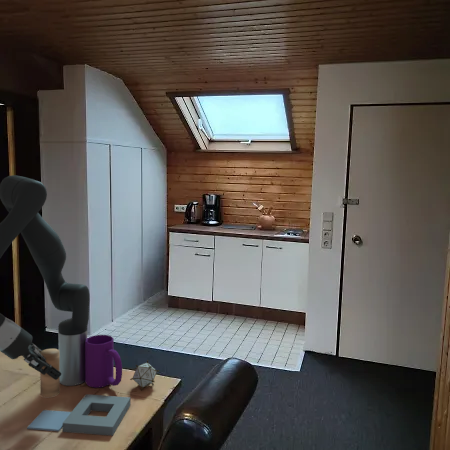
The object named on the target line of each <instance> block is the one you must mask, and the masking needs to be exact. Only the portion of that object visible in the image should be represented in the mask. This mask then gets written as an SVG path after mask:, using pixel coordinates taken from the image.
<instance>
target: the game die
mask: <svg viewBox="0 0 450 450" xmlns="http://www.w3.org/2000/svg"><path fill="white" fill-rule="evenodd" d="M159 371H160V370H159V369H158V370H156V368H154V367H153V366H152V365H151V364H150V363H149V359H147V360H146V362H144V363H142V364H140V365H138V364H135V370H134V373H133V376H132V377H131V378H130V379H129V380H130V381H132V380H133V381H134V382H135V383H136V384H137V385H138V386H139V387H140V390H141V391H143V390H144V389H143V388H145V387H147V386H150V385H152V386H154V383H155V377H156V375H157V373H158V372H159Z"/></svg>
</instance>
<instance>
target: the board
mask: <svg viewBox="0 0 450 450" xmlns="http://www.w3.org/2000/svg"><path fill="white" fill-rule="evenodd" d="M131 403H132V402H131V397H130V396H129V397H128V396H115V395H104V394H103V395H101V394H99V395H98V394H85V395H84V396H83V397H82V399H81V400H79V402H78V403H77V404H76V406H75V407H74V408H73V410H72V411H70V412H71V413H70V414H69V416H68V417H67V418H66V419H65V421H64V422H63V427H62V432H63V433H73V434H74V433H77V434H85V435H86V434H87V435H100V436H110V435H111V436H114V435H115V433H116V432H117V429H118V427H119V426H120V424H121V422H122V421H123V420H124V417H125V416H126V414H127V412H128V410H129V409H130V407H131V405H132V404H131ZM94 411H96V412H106V413H107V412H108V413H107V415H106V416H101V415H100V416H98V415H90V413H91V412H94Z"/></svg>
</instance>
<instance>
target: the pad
mask: <svg viewBox="0 0 450 450" xmlns="http://www.w3.org/2000/svg"><path fill="white" fill-rule="evenodd" d="M71 412H72V411H63V410H48V409H43V410H42V411H41V412H40V413H39V414H38V415H37V417H35V418H34V420H32V422H31V423H30V424H29V425H28V426H27V430H37V431H38V430H39V431H49V432H50V431H51V432H60V431H61V430H62V429H63V422H64V421H65V419H66V418H67V417H68V416H69V414H70V413H71Z"/></svg>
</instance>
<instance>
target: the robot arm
mask: <svg viewBox="0 0 450 450" xmlns="http://www.w3.org/2000/svg"><path fill="white" fill-rule="evenodd" d="M47 196H48V192H47V188H46V186H45V185H44V184H43V183H42V182H41V181H38V180H37V179H36V180H35V179H34V178H29V177H26V176H20V175H8V176H6V177H4V178H2V181H1V182H0V201H1V203H2V205H3V206H4V207H5V209H6V211H7V212H8V214H7V215H6V217H5V218H4V219H3V220H2V221H1V222H0V259H1V258H2V256H3V255H4V253H5V252H6V251H7V250H8V248H9V247H10V245H11V244H12V243H13V242H14V241H15V240H16V238H17V237H18V236H19V235H20V234H21V237H22V238H23V240H24V242H25V244H26V247H27V248H28V250H29V252H30V254H31V256H32V259H33V260H34V263H35V264H36V266H37V267H38V270H39V272H40V274H41V276H42V279H43V281H44V283H45V287H46V289H47V292H48V295H49V297H50V300H51V303H52V305H53V307H54V308H55V309H56V310H59V311H62V312H71V317H70V318H67V319H64V320H61V322H59V323H58V326H57V327H58V329H57V332H58V334H57V335H58V350H59V353H60V371H58V370H57V369H56V368H54V367H53V366H52V365H51V364H49V363H48V362H47V361H46V358H45V357H44V356H43V355H42V354H41V353H40V352H41V351H43V349H41V348H40V347H38V345H36V344H34V343H33V339H34V337H33V335H32V334H30V333H29V332H28V331H27V330H25V329H24V328H23V327H21V326H20V325H18V323H16V322H14V321H13V320H12V319H9V318H7V317H6V316H5V315H3V314H2V313H1V312H0V353H2V354H3V355H5V356H7V358H9V359H11V360H17V359H18V358H20V357H22V358H23V361H24V362H25V363H26V364H27V365H28V367H29V368H30V367H31V368H32V369H34V370H36V371H37V372H39V374H40V373H42V374H43V375H45V374H48V375H49V376H51V377H52V378H54V379H55V380H57V379H58V378H59V377H60V384H61V385H62V386H67V387H68V386H69V387H70V386H78V385H80V384H83V383H86V380H85V341H86V339H87V338H88V326H89V325H88V324H89V318H90V301H91V300H90V298H91V296H90V289H89V287H88V286H87V285H86V284H81V283H69V282H67V281H66V280H65V278H64V276H63V274H62V272H63V269H64V266H65V263H66V260H67V251H66V250H65V247H64V245H63V242H62V240H61V238H60V235H59V234H58V233H57V231H55V230H54V229H53V227H52V226H51V225H50V224H49V223H48V222H47V221H46V220H45V219H44V218H43V216H42V215H41V214H40V213H39V212H40V211H41V209H42V208H43V206H44V205H45V203H46V201H47V198H48V197H47ZM41 359H42V360H41ZM43 366H46V367H45V368H44V369H43V368H42V367H43Z"/></svg>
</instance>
